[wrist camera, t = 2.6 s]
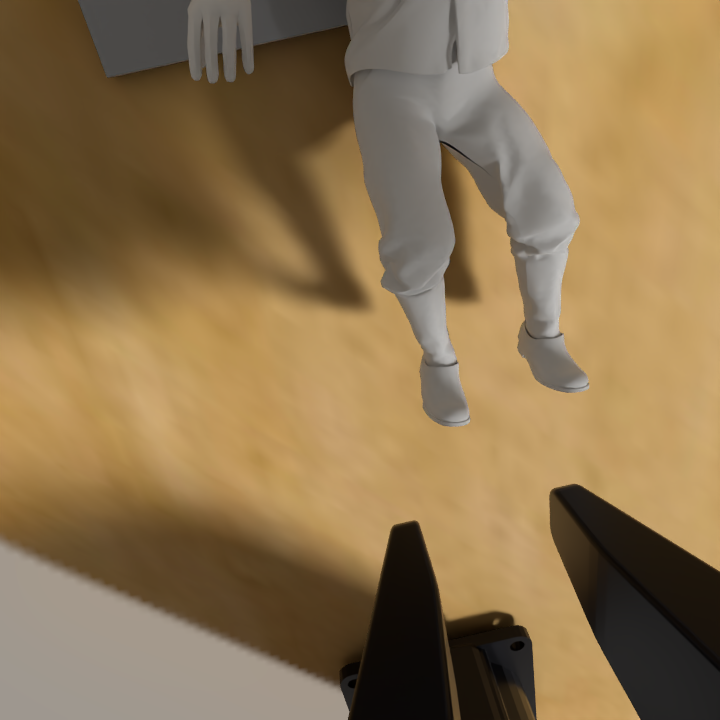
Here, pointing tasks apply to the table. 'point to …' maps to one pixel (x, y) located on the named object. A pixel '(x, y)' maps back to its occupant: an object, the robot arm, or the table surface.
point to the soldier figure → (438, 166)
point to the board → (170, 28)
